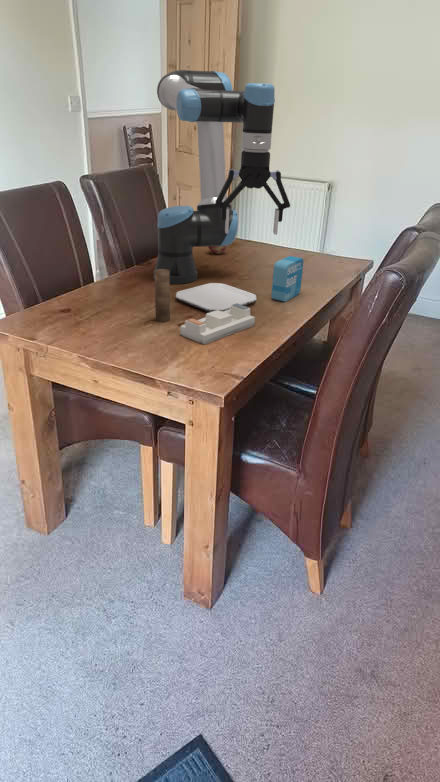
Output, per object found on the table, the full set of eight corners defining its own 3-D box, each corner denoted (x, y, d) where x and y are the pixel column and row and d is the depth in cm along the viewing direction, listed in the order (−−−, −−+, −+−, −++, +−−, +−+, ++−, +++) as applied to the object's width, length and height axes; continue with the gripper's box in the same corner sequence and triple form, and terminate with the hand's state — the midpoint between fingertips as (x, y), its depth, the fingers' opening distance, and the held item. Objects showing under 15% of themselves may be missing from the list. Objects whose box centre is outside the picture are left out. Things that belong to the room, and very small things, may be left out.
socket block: (180, 334, 151) (180, 317, 149) (230, 316, 164) (231, 301, 162) (204, 344, 145) (204, 327, 143) (254, 325, 159) (255, 309, 156)
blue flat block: (283, 303, 176) (287, 265, 171) (270, 300, 178) (273, 262, 173) (300, 293, 185) (304, 257, 180) (288, 290, 187) (291, 254, 182)
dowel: (152, 319, 160) (151, 270, 154) (163, 316, 163) (162, 268, 156) (162, 323, 158) (161, 274, 151) (172, 319, 160) (172, 271, 154)
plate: (216, 287, 189) (216, 281, 188) (262, 303, 176) (263, 296, 175) (169, 300, 176) (169, 293, 175) (215, 318, 163) (215, 311, 162)
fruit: (206, 255, 224) (206, 234, 220) (209, 250, 230) (210, 230, 227) (225, 256, 223) (226, 236, 219) (228, 252, 229) (229, 232, 226)
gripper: (208, 150, 143) (206, 234, 153) (306, 153, 145) (297, 237, 155) (207, 147, 150) (205, 228, 160) (300, 150, 152) (292, 230, 162)
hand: (250, 233), depth 158 cm, fingers open, 13 cm apart
